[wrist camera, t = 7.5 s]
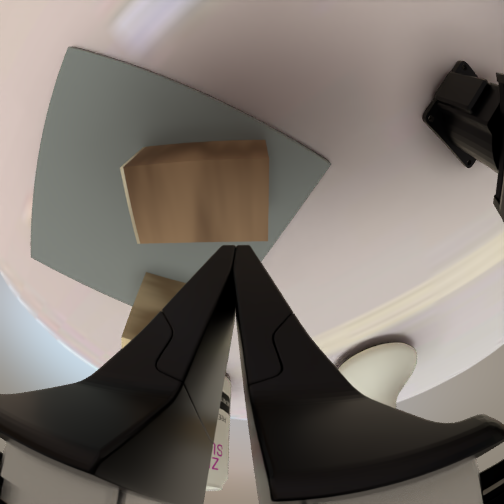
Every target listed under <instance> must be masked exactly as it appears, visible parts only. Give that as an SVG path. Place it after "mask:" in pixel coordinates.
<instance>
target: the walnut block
mask: <svg viewBox="0 0 504 504" xmlns="http://www.w3.org/2000/svg"><path fill="white" fill-rule="evenodd" d="M120 171H121V176H122V181H123V185H124V190H125V195H126V199H127V204H128V208H129V212H130V217H131V221H132V225H133V229H134V233H135V237H136V240H137V244H148V243H193V242H251V241H268V214H269V155H268V150H267V145H266V140H228V141H207V142H191V143H179V144H168V145H158V146H149V147H143V148H142V149H140V150H139V151H138V152H137V153H136V154H135V155H134V156H132V157H131V158H130V159H129V160H128V161H127V162H126V163H125V164H123V165H122V166H121V167H120Z"/></svg>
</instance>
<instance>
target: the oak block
mask: <svg viewBox="0 0 504 504" xmlns="http://www.w3.org/2000/svg"><path fill="white" fill-rule="evenodd" d="M185 284H186V283H183V282H180V281H176V280H172V279H169V278H165V277H162V276H158V275H154V274H151V273H147V272H146V274H145V276H144V279H143V281H142V284H141V286H140V289H139V291H138V294H137V296H136V299H135V302H134V304H133V307H132V309H131V312H130V315H129V318H128V320H127V323H126V326H125V329H124V332H123V334H122V348H123V347H124V346H126V345H127V344H128V343H129V342H130V341H131V340H132V339H133V338H134V337H135V336H136V335H138V334H139V333H140V332H141V331H142V330H143V329H144V328H145V327H146V326H147V325H148V324H149V323H150V321H151V320H152V319H153V318H154V317H155V316H156V315H157V314H158V313H159V312H160V311H162V309H163V308H164V307H165V305H166V304H167V303H168V302H169V301H170V300H171V299H172V298H173V297H174V296H175V295H176V294H177V292H178V291H179V290H180V289H181V288H182V287H183V286H184V285H185Z"/></svg>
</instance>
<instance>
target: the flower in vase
mask: <svg viewBox="0 0 504 504" xmlns="http://www.w3.org/2000/svg"><path fill="white" fill-rule="evenodd" d="M416 364H417V352H416V350H415V349H414V348H413V347H411V346H409V345H407V344H404V343H386V344H381V345H377V346H374V347H371V348H369V349H366V350H364V351H362V352H360V353H358V354H356V355H354V356H352V357H351V358H349V359H348V360H347V361H346V362H344V363H343V364H342V365H341V366H340V367H339V369H338V370H339V371H340V372H341V374H342V375H343V376H344V377H345V378H346V379H347V380H348V381H349V382H350V384H351V385H352V386H353V387H354V388H356V389H357V390H358V391H359V392H361V393H362V394H363V395H365V396H367V397H368V398H371V399H373V400H375V401H378V402H380V403H383V404H386V405H388V406H391V407H393V408H396V400H397V396H398V394H399V393H400V391H401V389H402V388H403V387H404V385H405V384H406V382H407V381H408V379H409V378H410V376H411V375H412V373H413V371H414V369H415V366H416Z"/></svg>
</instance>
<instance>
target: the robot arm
mask: <svg viewBox="0 0 504 504" xmlns="http://www.w3.org/2000/svg"><path fill="white" fill-rule="evenodd" d="M462 65H463V66H464V69H462ZM496 77H497V82H499V85H497V84H493V83H490V82H488V81H487V80H486V79H482V78H478V76H477V75H476V74H475V72H474V71H473V70H472V69H471V67H470V66H469V65H468V64H467V63H466V62H465V61H458V62H457V64H456V65H455V67H454V68H453V70H452V72H450V73H449V74H448V76H447V77H446V79H445V80H444V82H443V83H442V85H441V86H440V88H439V89H438V91H437V92H436V94H435V98H434V99H433V101H432V102H431V104H430V105H429V107H428V108H427V110H426V111H425V113H424V114H423V121H424V122H425V123H426V124H427V125H428V126H429V127H430V128H431V129H432V130H433V131H434V132H435V134H436V135H437V136H438V137H439V138H440V139H441V140H442V141H443V142H444V143H445V144H446V145H447V146H448V148H449V149H450V150H451V151H452V152H453V153H454V154H455V156H456V157H457V158H458V159H459V160H460V161H461V163H462V164H463V165H464V166H466V167H467V168H470V167H472V165H473V164H474V163H475V161H476V160H479V161H480V162H482V163H483V164H485V165H486V166H488V167H489V168H491V169H492V170H494V171H495V172H497V173H498V179H497V188H496V195H494V200H493V204H494V206H495V207H496V209H497V211H498V212H499V214H500V216H501V218H502V220H503V222H504V74H502V73H496ZM429 116H431V120H430V121H429V120H428V118H429ZM468 160H469V161H468ZM467 161H468V163H467ZM235 314H236V322H237V332H238V341H239V350H240V359H241V368H242V377H243V386H244V394H245V402H246V411H247V419H248V427H249V435H250V441H251V450H252V457H253V465H254V472H255V479H256V486H257V493H258V500H259V504H504V459H503V460H501V461H500V462H498V463H496V464H495V465H493V466H491V467H489V468H487V469H486V470H484V471H482V472H480V473H479V469H478V465H477V460H476V458H477V457H479V456H481V455H483V454H484V453H486V452H488V451H489V450H491V449H493V448H494V447H496V446H498V445H499V444H500V443H502V442H504V424H502V423H501V422H499V421H498V420H496V419H494V418H491V417H489V416H487V415H484V414H480V415H476V416H473V417H471V418H468V419H465V420H463V421H460V422H455V423H439V422H433V421H430V420H426V419H423V418H420V417H417V416H415V415H412V414H409V413H406V412H404V411H401V410H398V409H396V408H393V407H391V406H388V405H386V404H383V403H380V402H378V401H375V400H373V399H371V398H368V397H367V396H365V395H363V394H362V393H361V392H359V391H358V390H357V389H356V388H354V387H353V386H352V385H351V384H350V382H349V381H348V380H347V379H346V378H345V377H344V376H343V375H342V374H341V372H340V371H339V370H338V369H337V368H336V367H335V366H334V364H333V363H332V362H331V361H330V360H329V359H328V358H327V356H326V355H325V354H324V353H323V352H322V351H321V350H320V348H319V347H318V346H317V345H316V343H315V342H314V341H313V340H312V339H311V337H310V336H309V335H308V333H307V332H306V330H305V329H304V328H303V326H302V325H301V323H300V322H299V320H298V319H297V317H296V316H295V314H293V311H292V310H291V308H290V306H289V305H288V303H287V302H286V300H285V299H284V297H283V296H282V294H281V292H280V291H279V289H278V288H277V286H276V285H275V283H274V282H273V280H272V279H271V277H270V275H269V274H268V272H267V271H266V269H265V268H264V266H263V265H262V263H261V261H260V260H259V258H258V257H257V255H256V254H255V252H254V251H253V249H252V247H251V246H250V245H237V246H235V245H222V246H221V247H220V248H219V249H218V250H217V251H216V252H215V253H214V254H213V255H212V256H211V257H210V258H209V259H208V261H207V262H206V263H205V264H204V265H203V266H202V267H201V268H200V269H199V270H198V271H197V272H196V273H195V274H194V275H193V276H192V277H191V279H190V280H189V281H188V282H187V283H186V284H185V285H184V286H183V287H182V288H181V289H180V290H179V291H178V292H177V294H176V295H175V296H174V297H173V298H172V299H171V300H170V301H169V302H168V303H167V304H166V305H165V307H164V308H163V309H162V311H160V312H159V313H158V314H157V315H156V316H155V317H154V318H153V319H152V320H151V321H150V323H149V324H148V325H147V326H146V327H145V328H144V329H143V330H142V331H141V332H140V333H139V334H138V335H136V336H135V337H134V338H133V339H132V340H131V341H130V342H129V343H128V344H127V345H126V346H124V347H123V348H122V349H121V350H120V351H119V352H118V353H116V354H115V355H114V356H113V357H112V358H111V359H110V360H109V361H107V362H106V363H105V364H104V365H103V366H102V367H101V368H100V369H98V370H97V371H96V372H95V373H93V374H92V375H91V376H89V377H88V378H86V379H84V380H82V381H80V382H77V383H73V384H68V385H63V386H58V387H53V388H48V389H42V390H36V391H30V392H24V393H17V394H0V438H2V439H4V440H5V441H6V444H5V448H4V451H3V453H1V452H0V504H203V502H204V497H205V491H206V485H207V479H208V473H209V467H210V461H211V455H212V449H213V443H214V437H215V431H216V426H217V420H218V414H219V408H220V402H221V396H222V391H223V385H224V379H225V373H226V368H227V362H228V356H229V350H230V345H231V339H232V333H233V328H234V322H235Z"/></svg>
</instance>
